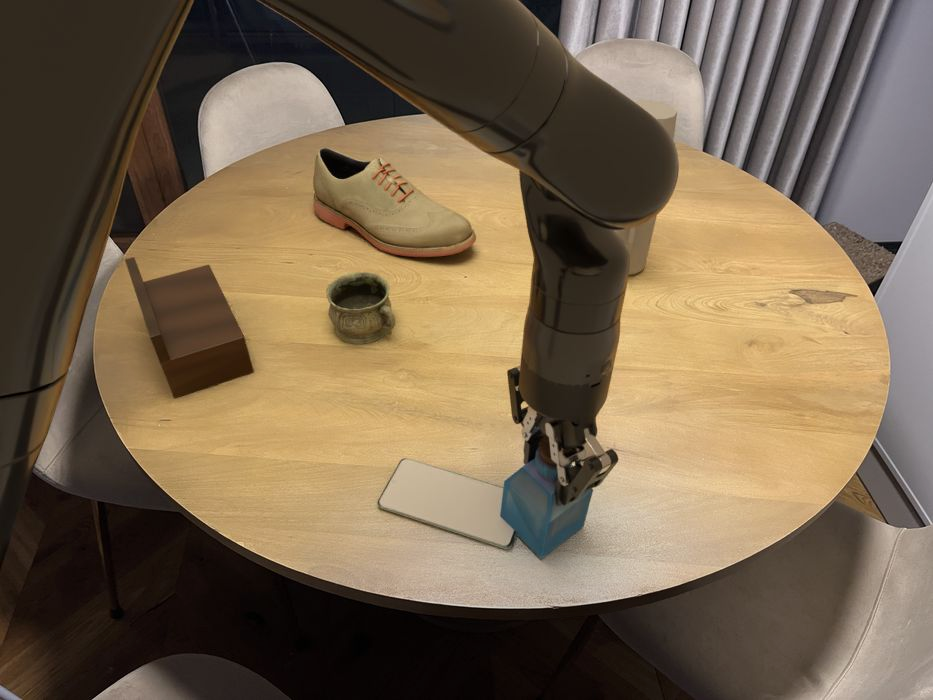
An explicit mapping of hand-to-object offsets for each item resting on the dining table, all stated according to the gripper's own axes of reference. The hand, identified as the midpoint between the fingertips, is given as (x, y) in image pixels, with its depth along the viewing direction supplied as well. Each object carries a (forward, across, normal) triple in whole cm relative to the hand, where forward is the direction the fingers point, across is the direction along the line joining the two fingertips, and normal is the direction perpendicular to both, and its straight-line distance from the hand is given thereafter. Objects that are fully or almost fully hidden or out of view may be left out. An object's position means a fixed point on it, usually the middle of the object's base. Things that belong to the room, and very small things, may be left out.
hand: (549, 480), depth 66 cm
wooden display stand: (+7, -46, -25) cm, 53 cm away
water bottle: (+8, -33, +38) cm, 51 cm away
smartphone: (+7, -7, -7) cm, 12 cm away
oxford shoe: (+7, -60, +10) cm, 61 cm away
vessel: (+8, -39, -4) cm, 40 cm away
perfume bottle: (+7, 0, 0) cm, 7 cm away
